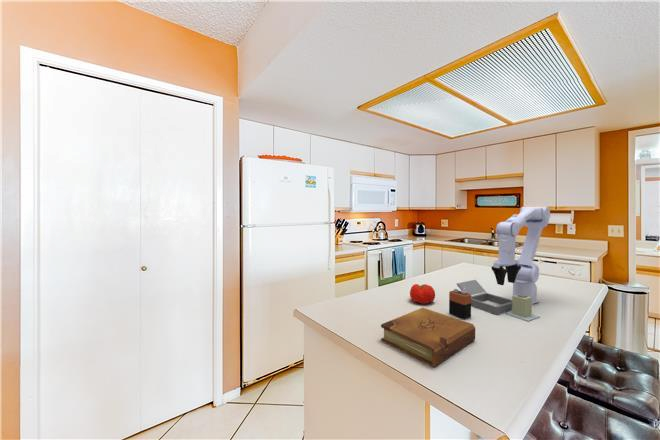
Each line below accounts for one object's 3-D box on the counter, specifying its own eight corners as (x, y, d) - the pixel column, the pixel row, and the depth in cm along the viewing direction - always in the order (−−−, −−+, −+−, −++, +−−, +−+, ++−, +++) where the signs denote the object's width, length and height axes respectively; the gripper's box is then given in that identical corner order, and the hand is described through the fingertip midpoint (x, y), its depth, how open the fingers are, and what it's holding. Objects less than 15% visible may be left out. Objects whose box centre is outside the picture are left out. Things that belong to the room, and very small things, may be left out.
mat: (517, 310, 107) (517, 309, 107) (539, 317, 100) (539, 316, 100) (505, 314, 103) (505, 313, 103) (528, 321, 96) (528, 320, 96)
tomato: (408, 304, 115) (408, 287, 115) (411, 296, 125) (411, 281, 125) (435, 307, 111) (435, 290, 111) (435, 299, 121) (435, 283, 121)
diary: (435, 370, 69) (435, 349, 69) (381, 342, 84) (380, 324, 84) (475, 342, 83) (475, 324, 83) (422, 322, 98) (422, 306, 98)
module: (518, 311, 105) (519, 292, 105) (531, 315, 101) (531, 296, 101) (512, 313, 103) (512, 294, 103) (524, 317, 99) (525, 298, 99)
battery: (464, 320, 98) (464, 293, 98) (448, 313, 104) (448, 288, 104) (471, 317, 100) (471, 291, 100) (455, 311, 106) (455, 287, 106)
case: (475, 295, 125) (475, 279, 125) (517, 308, 109) (517, 289, 109) (455, 300, 119) (455, 283, 119) (496, 315, 103) (497, 295, 102)
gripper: (506, 248, 115) (505, 279, 116) (486, 250, 109) (485, 283, 109) (524, 250, 109) (523, 283, 109) (504, 253, 102) (503, 287, 103)
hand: (505, 283), depth 109 cm, fingers open, 7 cm apart
